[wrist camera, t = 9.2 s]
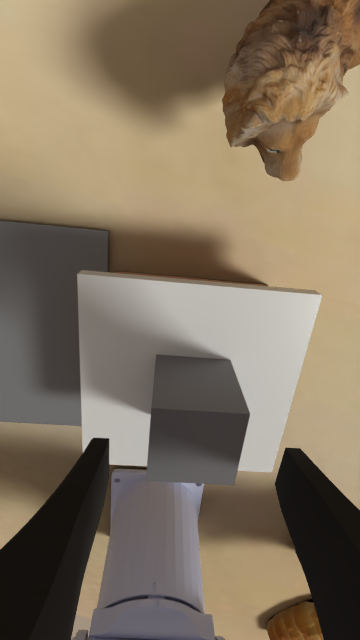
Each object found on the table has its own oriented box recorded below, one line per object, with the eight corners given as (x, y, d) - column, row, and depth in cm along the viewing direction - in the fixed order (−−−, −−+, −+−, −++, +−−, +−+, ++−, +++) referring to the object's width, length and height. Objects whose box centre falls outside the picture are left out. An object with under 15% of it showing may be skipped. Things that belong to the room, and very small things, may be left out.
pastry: (275, 637, 38) (286, 682, 34) (256, 610, 36) (266, 655, 32) (348, 616, 37) (367, 661, 33) (334, 587, 34) (352, 631, 31)
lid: (268, 462, 20) (298, 544, 16) (86, 453, 20) (58, 536, 15) (315, 290, 16) (377, 331, 11) (81, 270, 15) (40, 304, 10)
